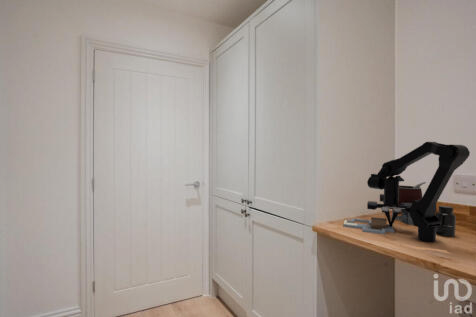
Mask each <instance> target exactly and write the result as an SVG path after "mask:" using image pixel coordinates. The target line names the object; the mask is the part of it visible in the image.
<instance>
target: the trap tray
mask: <svg viewBox="0 0 476 317" xmlns="http://www.w3.org/2000/svg"><path fill="white" fill-rule="evenodd" d="M355 222H356V223H355ZM357 222H358V223H357ZM363 223H367V224H363ZM342 226H343V227H344V228H351V229H352V228H353V229H360V230H362V233H370V234H379V235H386V233H392V234H394V233H395V229H394V228H393V226H394V224H393V225H392V227H390V226H389V223H388V224H387V229H383V228H382V230H379V229H371V220H370V219H362V218H351V219H345V220H344V222H343V224H342Z"/></svg>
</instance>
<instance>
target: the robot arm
mask: <svg viewBox="0 0 476 317" xmlns="http://www.w3.org/2000/svg"><path fill="white" fill-rule="evenodd" d="M470 152H471V151H470V150H469V148H468V147H467V146H466V145H463V144H444V143H440V142H439V143H438V142H436V141H425V142H424V143H422V144H421V145H419V146H418V147H416V148H414V149H413V150H411V151H409V152H407V153H405V154H404V155H403V156H401V157H398V158H395V159H392V160H389V161H386V162H384V163H382V165H381V168H380V170H379V171H378V173H371V174H370V176H369V178H368V180H367V182H366V183H367V186H368V187H369V188H370V189H375V190H383V194H379V202H381V203H378V201H371V200H369V201H367V204H366V205H367V207H366V209H368V210H377V209H381V213H384V215H385V217H386V220H387V223H388V224H389V226H390V227H392V225H393V226H394V223H395V221H396V220H395V219H396V217H397V216H399V215H401V210H406V211H407V212H408V213H409V214H410V217H411V218H412V221H413V225H412V226H414V227H417V240H419V241H421V242H424V243H429V244H430V243H431V244H433V243H435V242H437V237H436V236H437V234H436V227H440V226H441V223H442V222H441V220H440V219H439V218H438V217H437V216H436V213H437V209H438V208H437V203H438V201H439V199H440V197H441V195H442V194H443V192H444V190H445V188H446V186H447V184H448V183H449V181H450V180H451V178H452V175H453V174H454V173H455V171H456V170H457V169H458V168H460V167H461V166H462V165H463V164H464V163H465V162H466V161H467V159H468V158H469V157H470ZM431 154H432V155H435V156H438V158H437V159H438V167H437V169H436V171H435V172H434V174H433V177H432V178H431V181H430V182H429V185H428V186H427V187H426V190H425V192H424V194H422V199H421V200H414V201H413V202H412V204H405V206H401V205H399V185H400V182H405V179H404V178H403V177H401V174H402V173H403V172H404V171H406V169H407V168H408V167H409V166H411V165H413V164H415V163H417V162H418V161H420V160H422V159H424V158H425V157H428V156H429V155H431ZM382 202H383V203H382ZM390 210H392V211H391V212H392V213H390Z"/></svg>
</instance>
